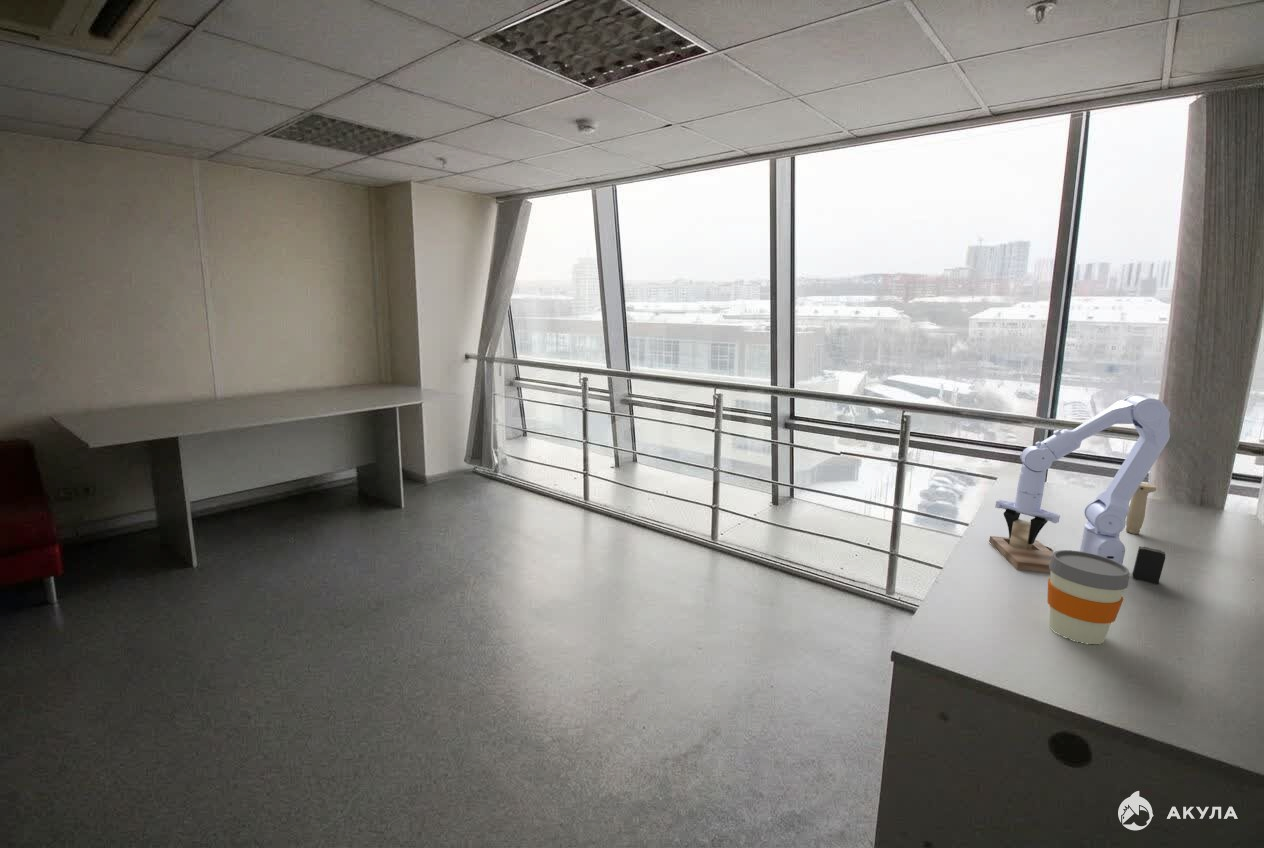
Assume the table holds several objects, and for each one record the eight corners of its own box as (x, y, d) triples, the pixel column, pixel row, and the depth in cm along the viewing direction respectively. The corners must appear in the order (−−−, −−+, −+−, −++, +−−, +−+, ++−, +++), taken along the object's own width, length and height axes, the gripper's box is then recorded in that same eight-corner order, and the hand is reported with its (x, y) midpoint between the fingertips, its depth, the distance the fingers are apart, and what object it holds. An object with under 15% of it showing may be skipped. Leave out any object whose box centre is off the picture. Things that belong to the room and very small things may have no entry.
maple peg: (1031, 548, 163) (1035, 523, 161) (1025, 551, 160) (1030, 526, 159) (1015, 543, 166) (1019, 519, 164) (1009, 546, 163) (1013, 521, 162)
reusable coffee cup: (1042, 610, 130) (1054, 544, 127) (1116, 632, 122) (1131, 562, 119) (1034, 633, 120) (1047, 562, 118) (1114, 658, 113) (1130, 582, 110)
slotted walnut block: (1070, 575, 149) (1071, 567, 149) (1017, 569, 151) (1018, 561, 151) (1036, 547, 166) (1037, 540, 166) (988, 542, 168) (990, 535, 168)
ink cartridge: (1157, 581, 147) (1165, 551, 146) (1158, 585, 146) (1166, 553, 144) (1131, 575, 150) (1139, 545, 149) (1132, 578, 149) (1139, 547, 147)
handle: (1146, 537, 178) (1156, 488, 175) (1118, 531, 182) (1128, 483, 179) (1145, 533, 182) (1156, 485, 179) (1118, 527, 185) (1128, 480, 183)
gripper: (1067, 496, 157) (1058, 546, 159) (1006, 482, 168) (998, 529, 171) (1057, 501, 152) (1048, 552, 155) (995, 486, 164) (987, 534, 166)
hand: (1021, 540), depth 162 cm, fingers closed on maple peg, 4 cm apart
